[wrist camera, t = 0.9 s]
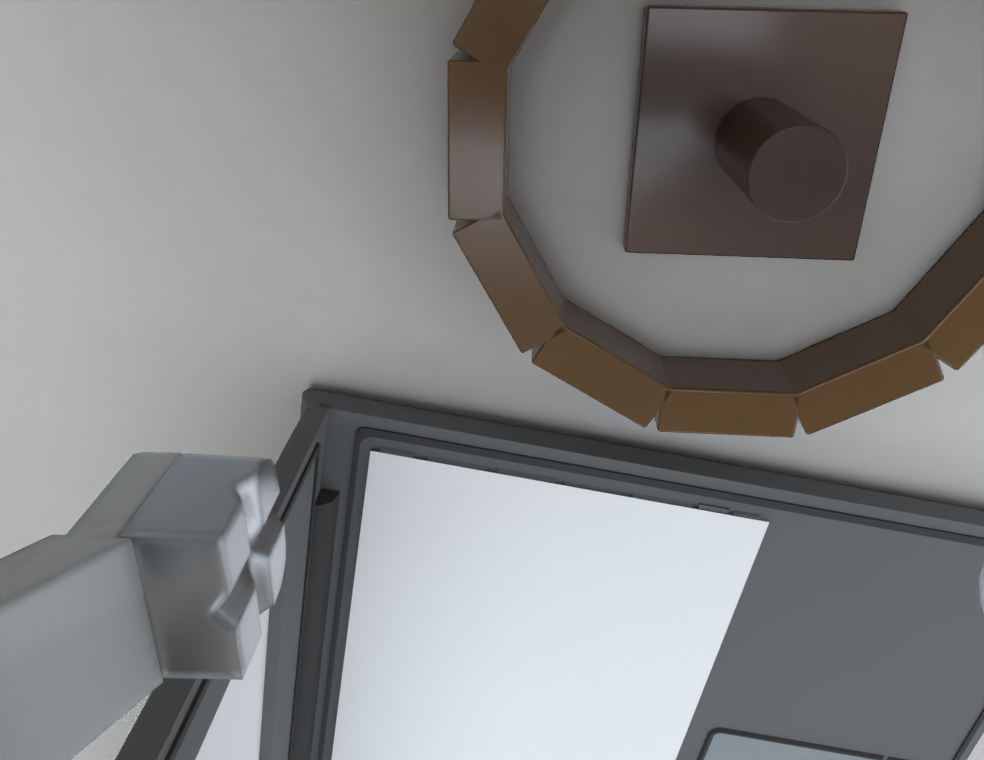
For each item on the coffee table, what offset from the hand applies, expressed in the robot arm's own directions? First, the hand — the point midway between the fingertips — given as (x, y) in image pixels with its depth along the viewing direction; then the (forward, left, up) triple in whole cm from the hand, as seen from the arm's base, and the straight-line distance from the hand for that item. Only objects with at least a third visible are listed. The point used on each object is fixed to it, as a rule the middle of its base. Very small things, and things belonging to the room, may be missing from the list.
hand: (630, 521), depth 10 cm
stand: (-1, +5, -18) cm, 19 cm away
